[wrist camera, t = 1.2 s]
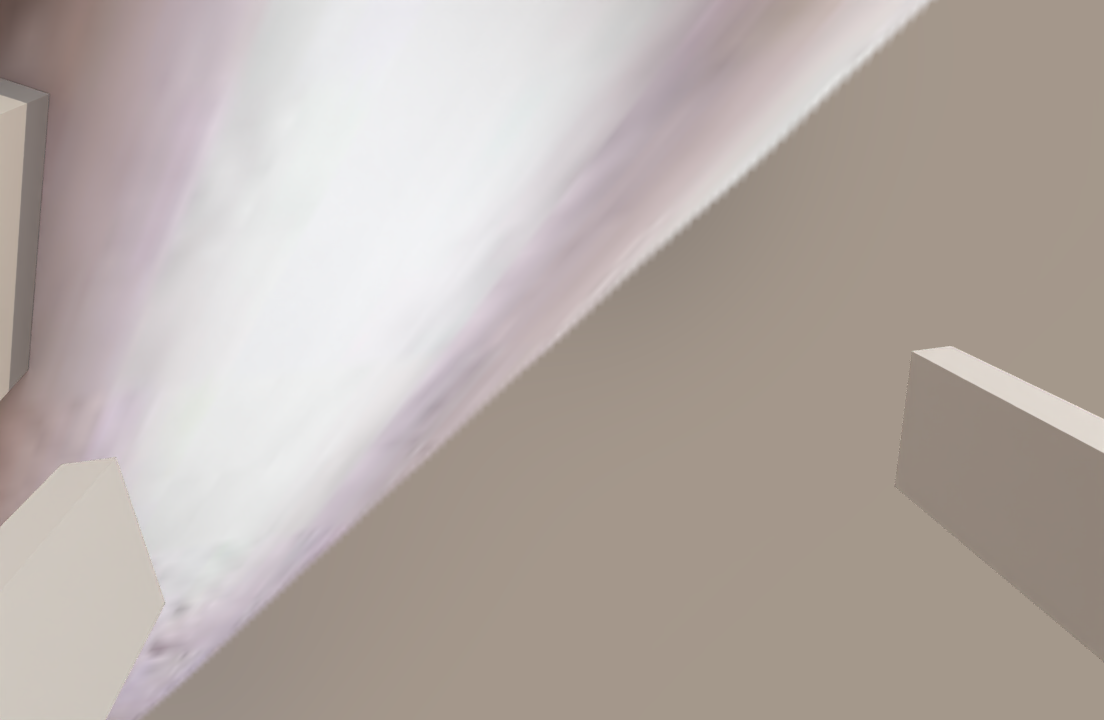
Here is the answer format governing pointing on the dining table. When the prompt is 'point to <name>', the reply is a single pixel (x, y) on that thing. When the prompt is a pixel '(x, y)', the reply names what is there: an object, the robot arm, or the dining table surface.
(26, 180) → the console
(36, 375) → the dining table surface
